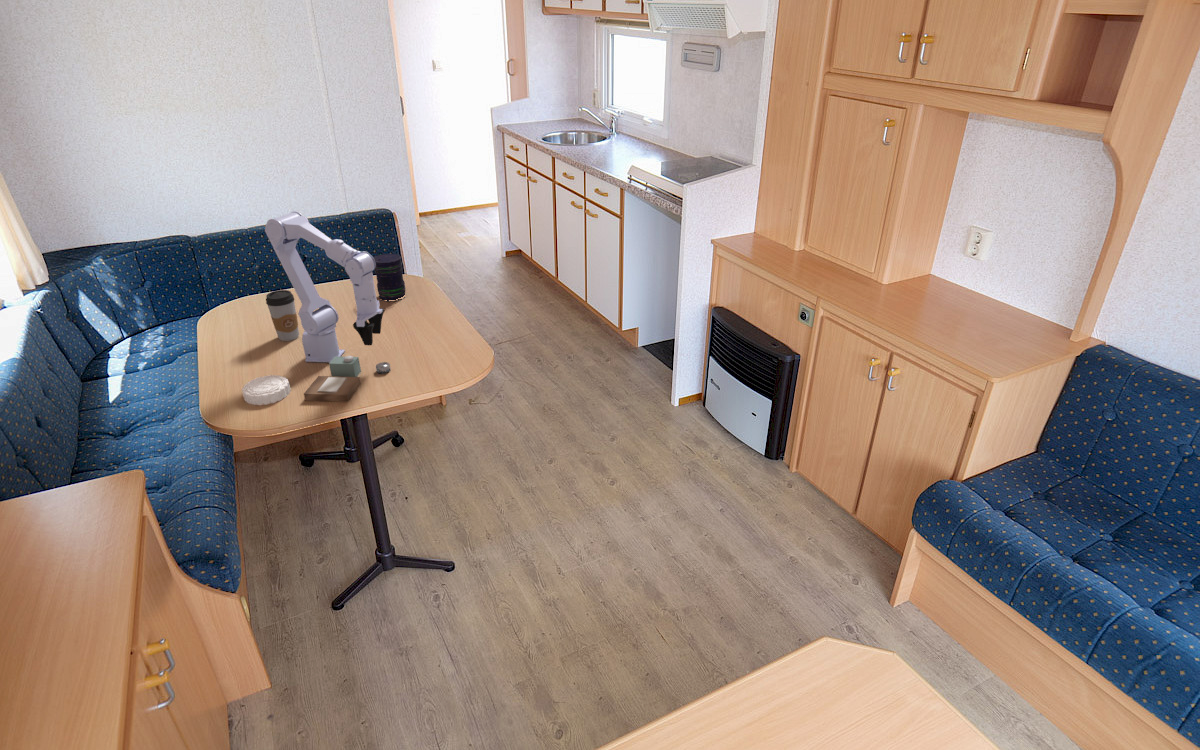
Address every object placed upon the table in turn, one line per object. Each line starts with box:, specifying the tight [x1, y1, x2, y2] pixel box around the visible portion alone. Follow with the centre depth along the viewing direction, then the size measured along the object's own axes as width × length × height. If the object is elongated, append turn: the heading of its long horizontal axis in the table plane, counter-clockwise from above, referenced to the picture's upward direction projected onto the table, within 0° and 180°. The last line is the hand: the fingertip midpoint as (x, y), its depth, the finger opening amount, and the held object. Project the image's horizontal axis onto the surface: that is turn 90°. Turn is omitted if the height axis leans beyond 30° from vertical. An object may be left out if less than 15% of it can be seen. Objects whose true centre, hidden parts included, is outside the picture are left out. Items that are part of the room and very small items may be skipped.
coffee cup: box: [265, 289, 300, 342], centre depth 220 cm, size 8×8×15 cm
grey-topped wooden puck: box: [375, 361, 392, 375], centre depth 203 cm, size 4×4×2 cm
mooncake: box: [241, 374, 292, 406], centre depth 191 cm, size 12×12×4 cm
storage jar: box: [373, 253, 406, 302], centre depth 250 cm, size 10×10×15 cm
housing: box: [328, 355, 362, 377], centre depth 200 cm, size 7×4×6 cm, turn 88°
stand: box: [303, 375, 362, 402], centre depth 192 cm, size 12×10×2 cm
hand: (372, 338), depth 201 cm, fingers open, 7 cm apart
